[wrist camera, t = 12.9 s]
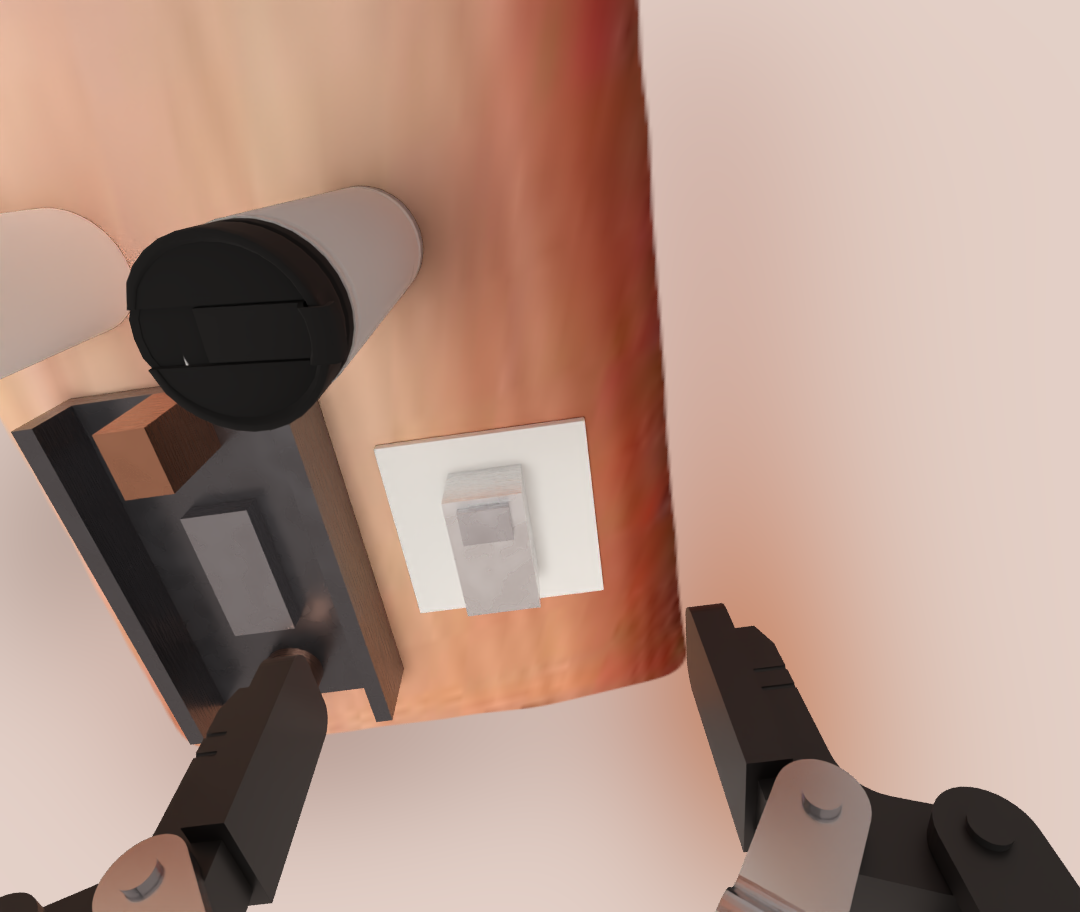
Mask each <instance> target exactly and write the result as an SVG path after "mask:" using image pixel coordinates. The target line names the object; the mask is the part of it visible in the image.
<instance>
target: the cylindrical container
mask: <svg viewBox="0 0 1080 912" xmlns="http://www.w3.org/2000/svg"><path fill="white" fill-rule="evenodd" d="M130 271H131V270H130V268H129V266H128V263H127V261H126V259H125V257H124V255H123V254H122V252H121V251H120V249H119V248H118V246H117V245H116V244H115V243H114V242H113V240H112V239H111V238H110V237H109V236H108V235H107V234H106V233H105V232H104V231H102V230H101V229H100V228H99V227H97V226H96V225H95V224H94V223H92V222H90V221H88V220H87V219H85V218H83V217H82V216H79V215H77V214H74V213H72V212H69V211H66V210H61V209H56V208H38V209H30V210H22V211H15V212H7V213H0V379H2V378H4V377H6V376H9V375H11V374H13V373H15V372H18V371H20V370H22V369H24V368H27V367H29V366H31V365H33V364H35V363H38V362H40V361H42V360H44V359H47V358H49V357H51V356H53V355H56V354H58V353H60V352H62V351H64V350H67V349H69V348H71V347H73V346H76V345H78V344H80V343H82V342H84V341H87V340H89V339H91V338H93V337H96V336H98V335H100V334H102V333H104V332H107V331H109V330H111V329H113V328H115V327H116V326H117V325H119V324H120V323H121V322H122V321H123V320H124V319H125V318H126V316H127V315H128V314H129V311H130V310H128V311H127V301H126V281H127V279H128V276H129V274H130Z"/></svg>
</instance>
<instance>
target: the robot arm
mask: <svg viewBox="0 0 1080 912" xmlns="http://www.w3.org/2000/svg"><path fill="white" fill-rule="evenodd" d="M686 643H687V666H688V672H689V678H690V683H691V688H692V691H693V695H694V698H695V701H696V704H697V707H698V711H699V713H700V717H701V720H702V723H703V726H704V729H705V733H706V736H707V739H708V742H709V745H710V748H711V751H712V754H713V758H714V761H715V764H716V767H717V770H718V773H719V777H720V780H721V783H722V786H723V789H724V792H725V795H726V799H727V802H728V805H729V808H730V811H731V814H732V817H733V820H734V824H735V827H736V830H737V833H738V836H739V839H740V842H741V846H742V849H743V852H748V853H747V855H746V858H745V860H744V863H743V865H742V868H741V871H740V873H739V876H738V878H737V880H736V882H735V885H734V886H733V887H732V888H731V887H728V888H727V889H726V891H725V893H724V894H723V896H722V898H721V900H720V903H719V905H718V907H717V909H716V912H1080V887H1079V886H1078V884H1077V883H1076V881H1075V880H1074V878H1073V877H1072V876H1071V874H1070V873H1069V872H1068V870H1067V868H1066V867H1065V865H1064V864H1063V863H1062V861H1061V860H1060V858H1059V857H1058V855H1057V854H1056V852H1055V851H1054V850H1053V848H1052V847H1051V845H1050V844H1049V842H1048V841H1047V839H1046V838H1045V836H1044V835H1043V834H1042V832H1041V831H1040V829H1039V828H1038V827H1037V825H1036V824H1035V823H1034V822H1033V821H1032V820H1031V819H1030V818H1029V816H1028V815H1027V814H1026V813H1024V812H1023V811H1022V810H1021V809H1019V808H1018V807H1017V806H1016V805H1014V804H1012V803H1011V802H1009V801H1008V800H1006V799H1004V798H1002V797H1001V796H999V795H996V794H994V793H991V792H989V791H986V790H982V789H979V788H973V787H956V788H951V789H949V790H946V791H944V792H943V793H941V794H940V795H939V796H938V797H937V799H936V801H935V803H934V804H929V803H923V802H918V801H912V800H907V799H902V798H897V797H892V796H888V795H884V794H880V793H877V792H875V791H872V790H870V789H868V788H866V787H864V786H862V785H861V784H859V783H858V782H857V781H856V779H855V778H853V777H852V776H851V775H850V774H849V773H847V772H846V771H844V770H843V769H841V768H840V767H839V766H838V765H837V763H836V762H835V761H834V759H833V757H832V756H831V754H830V752H829V750H828V749H827V746H826V744H825V743H824V740H823V738H822V737H821V735H820V733H819V731H818V729H817V727H816V725H815V723H814V721H813V719H812V717H811V715H810V713H809V711H808V709H807V707H806V705H805V703H804V701H803V699H802V697H801V695H800V693H799V691H798V689H797V688H795V685H794V682H793V680H792V678H791V676H790V674H789V672H788V670H787V669H786V668H785V664H784V662H783V660H782V658H781V656H780V654H779V653H778V650H777V648H776V646H775V644H774V643H773V642H772V641H771V640H770V639H768V638H767V637H766V636H765V635H764V634H762V632H760V631H759V630H758V629H757V628H756V627H755V626H749V627H741V628H734V625H733V623H732V620H731V618H730V616H729V614H728V612H727V609H726V607H725V606H724V604H722V603H720V604H712V605H703V606H695V607H688V608H686ZM327 722H328V717H327V708H326V705H325V702H324V699H323V697H322V695H321V692H320V690H319V687H318V685H317V683H316V680H315V678H314V675H313V673H312V671H311V668H310V666H309V663H308V661H307V659H306V658H305V657H304V656H303V655H294V656H286V657H278V658H270V659H265V660H264V661H262V663H261V664H260V665H259V667H258V669H257V671H256V673H255V675H254V678H253V680H252V682H251V684H250V686H249V687H245V688H239V689H238V690H237V691H236V692H235V693H234V694H233V695H232V696H231V697H230V698H229V700H228V701H227V702H226V703H225V704H224V705H223V706H222V707H221V708H220V709H219V710H218V712H217V714H216V716H215V718H214V720H213V722H212V724H211V726H210V727H209V729H208V731H207V733H206V738H205V739H203V741H202V743H201V745H200V747H199V749H198V750H197V752H196V758H194V759H193V760H192V762H191V764H190V766H189V768H188V770H187V772H186V774H185V775H184V777H183V779H182V781H181V783H180V785H179V787H178V789H177V791H176V793H175V795H174V796H173V798H172V800H171V802H170V804H169V806H168V808H167V810H166V812H165V814H164V816H163V818H162V820H161V821H160V823H159V825H158V827H157V829H156V831H155V833H154V834H153V836H152V837H150V838H148V839H146V840H143V841H141V842H140V843H138V844H136V845H135V846H133V847H132V848H130V849H129V850H128V851H126V852H125V853H124V854H123V855H121V856H120V857H119V858H118V859H117V860H116V861H115V862H114V863H113V864H112V865H111V867H110V868H109V869H108V870H107V872H106V873H105V875H104V876H103V877H102V879H101V881H100V882H99V884H96V885H94V886H92V887H90V888H88V889H85V890H83V891H81V892H78V893H76V894H73V895H71V896H68V897H66V898H64V899H61V900H59V901H56V902H54V903H52V904H49V905H47V906H45V907H42V906H41V905H40V904H39V903H38V902H37V901H36V899H35V898H34V897H33V896H32V895H30V894H27V893H12V894H8V895H5V896H3V897H0V912H246V910H247V908H248V906H250V905H258V904H268V903H272V902H273V899H274V896H275V892H276V889H277V886H278V883H279V880H280V877H281V874H282V871H283V867H284V864H285V861H286V858H287V855H288V852H289V849H290V846H291V842H292V839H293V836H294V833H295V830H296V827H297V824H298V821H299V817H300V814H301V811H302V808H303V805H304V802H305V799H306V795H307V792H308V789H309V786H310V783H311V779H312V777H313V774H314V771H315V767H316V764H317V761H318V758H319V755H320V752H321V749H322V745H323V742H324V739H325V736H326V732H327Z"/></svg>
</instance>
